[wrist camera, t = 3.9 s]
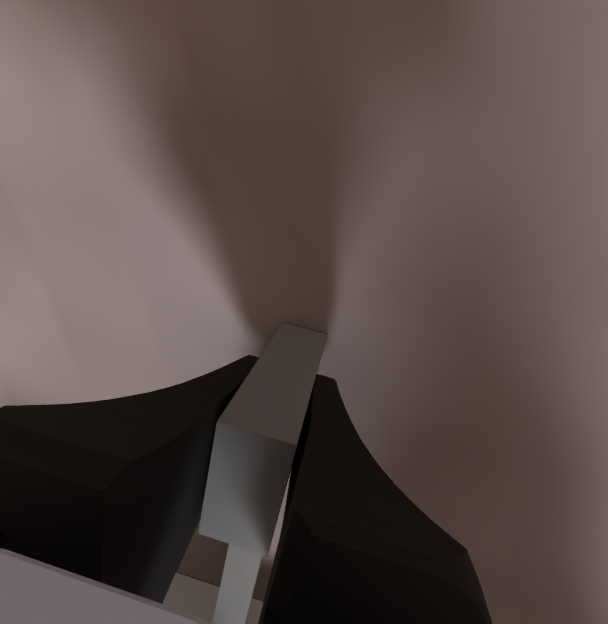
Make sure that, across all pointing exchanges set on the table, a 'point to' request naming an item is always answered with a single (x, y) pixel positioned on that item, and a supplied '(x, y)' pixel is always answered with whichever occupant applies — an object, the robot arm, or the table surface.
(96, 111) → the table surface
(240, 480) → the grey t-shaped piece
